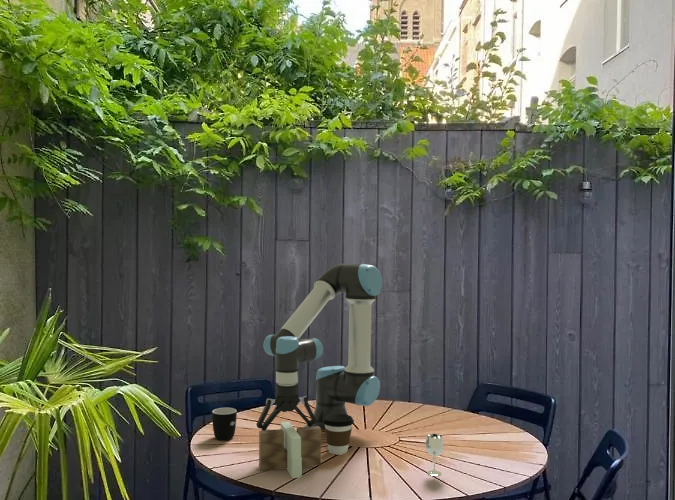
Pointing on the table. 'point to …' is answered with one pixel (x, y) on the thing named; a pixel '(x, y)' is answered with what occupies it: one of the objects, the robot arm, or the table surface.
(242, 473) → the table surface
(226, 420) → the mug
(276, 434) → the slotted board
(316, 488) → the table surface
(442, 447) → the wineglass
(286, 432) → the sage plate
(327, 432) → the coffee cup
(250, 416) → the table surface
